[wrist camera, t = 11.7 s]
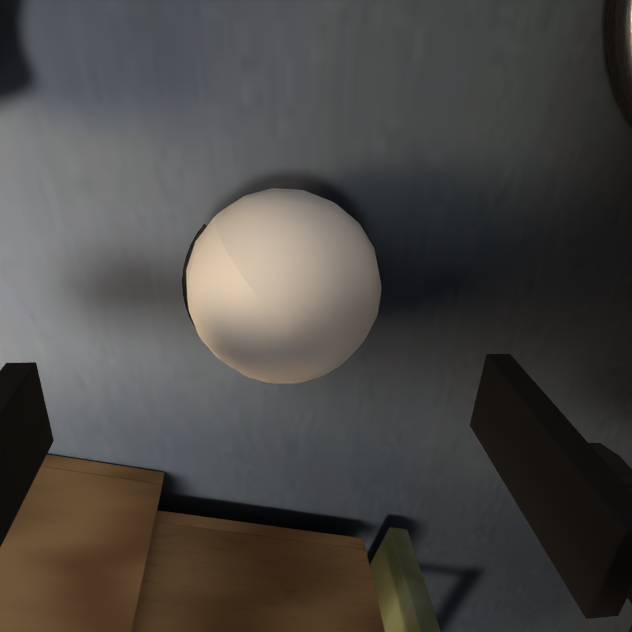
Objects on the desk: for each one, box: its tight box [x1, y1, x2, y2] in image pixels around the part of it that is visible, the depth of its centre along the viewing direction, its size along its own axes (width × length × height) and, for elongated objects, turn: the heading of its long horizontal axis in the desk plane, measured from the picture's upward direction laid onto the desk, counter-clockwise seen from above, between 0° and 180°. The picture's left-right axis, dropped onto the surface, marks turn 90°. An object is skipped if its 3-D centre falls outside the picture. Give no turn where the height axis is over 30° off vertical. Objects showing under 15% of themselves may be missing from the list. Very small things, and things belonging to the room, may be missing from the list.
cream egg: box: [182, 188, 382, 404], centre depth 20 cm, size 10×7×7 cm
